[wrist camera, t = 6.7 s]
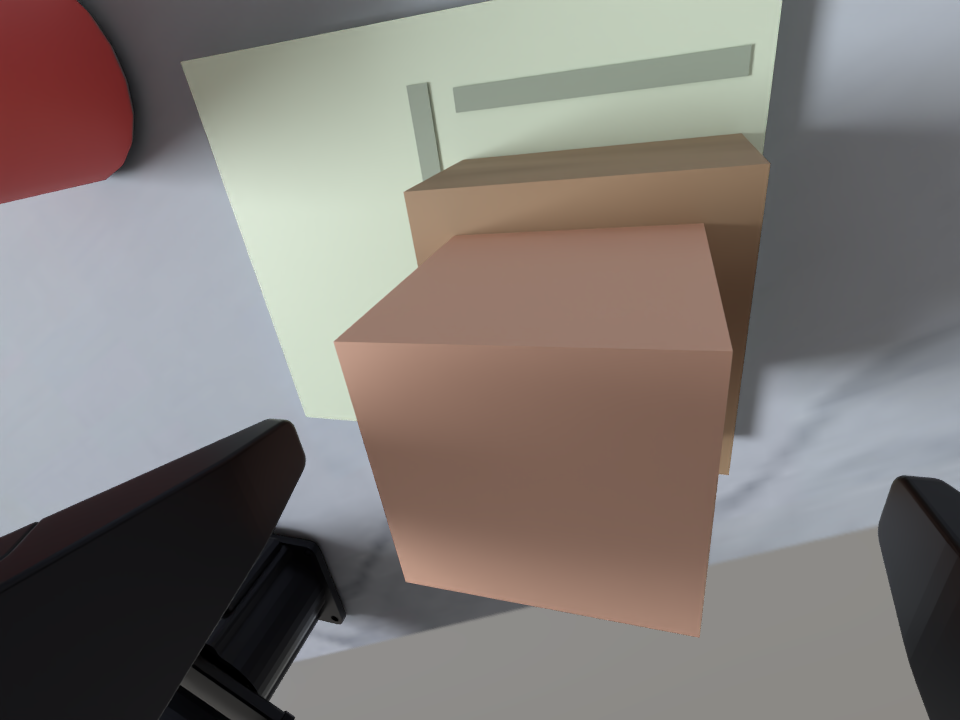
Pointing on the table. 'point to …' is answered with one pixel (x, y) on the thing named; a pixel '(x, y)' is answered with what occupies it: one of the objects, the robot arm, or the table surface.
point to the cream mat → (447, 131)
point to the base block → (616, 209)
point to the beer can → (58, 99)
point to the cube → (551, 418)
